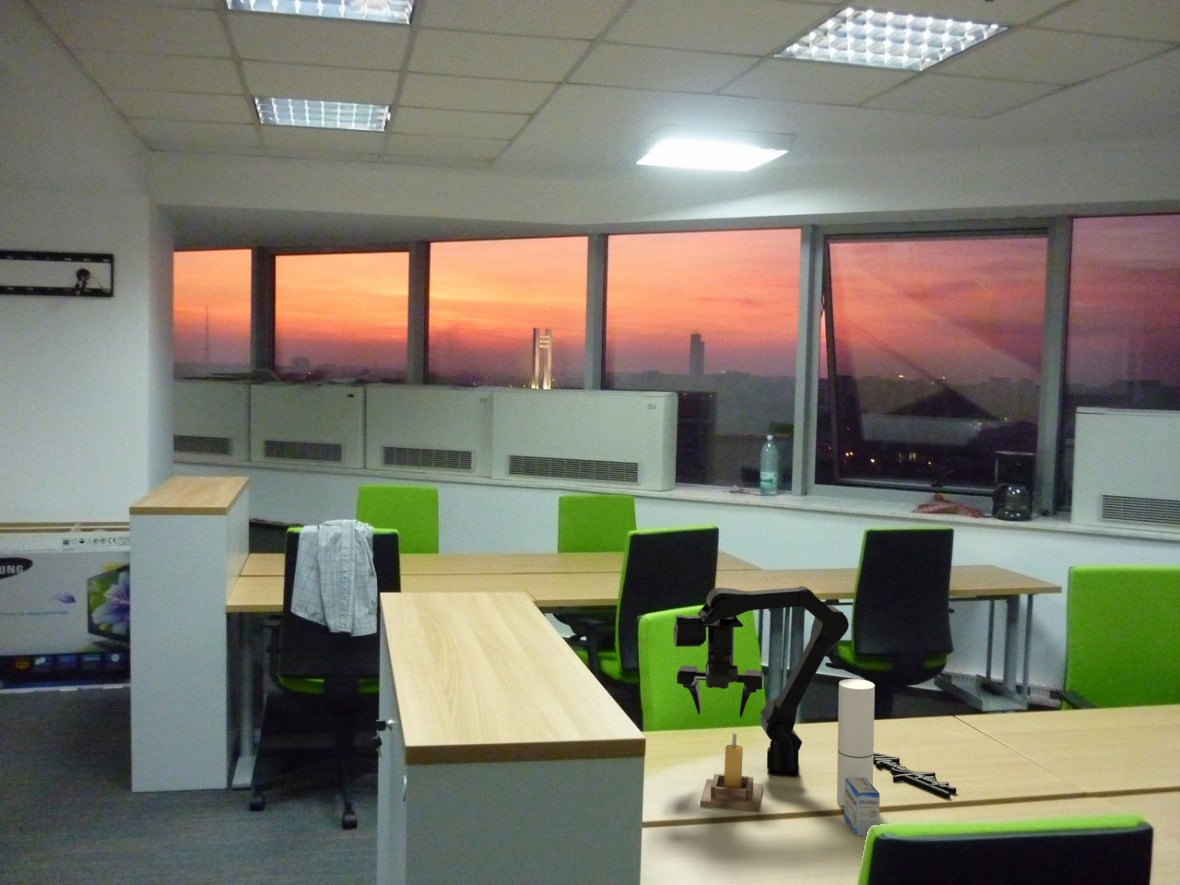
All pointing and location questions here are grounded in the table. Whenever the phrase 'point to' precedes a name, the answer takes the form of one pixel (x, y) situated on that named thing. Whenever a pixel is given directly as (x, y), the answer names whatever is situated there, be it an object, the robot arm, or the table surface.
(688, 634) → the robot arm
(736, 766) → the yellow cylindrical piece
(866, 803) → the medicine box
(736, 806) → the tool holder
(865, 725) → the cylindrical container
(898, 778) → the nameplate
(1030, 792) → the table surface
